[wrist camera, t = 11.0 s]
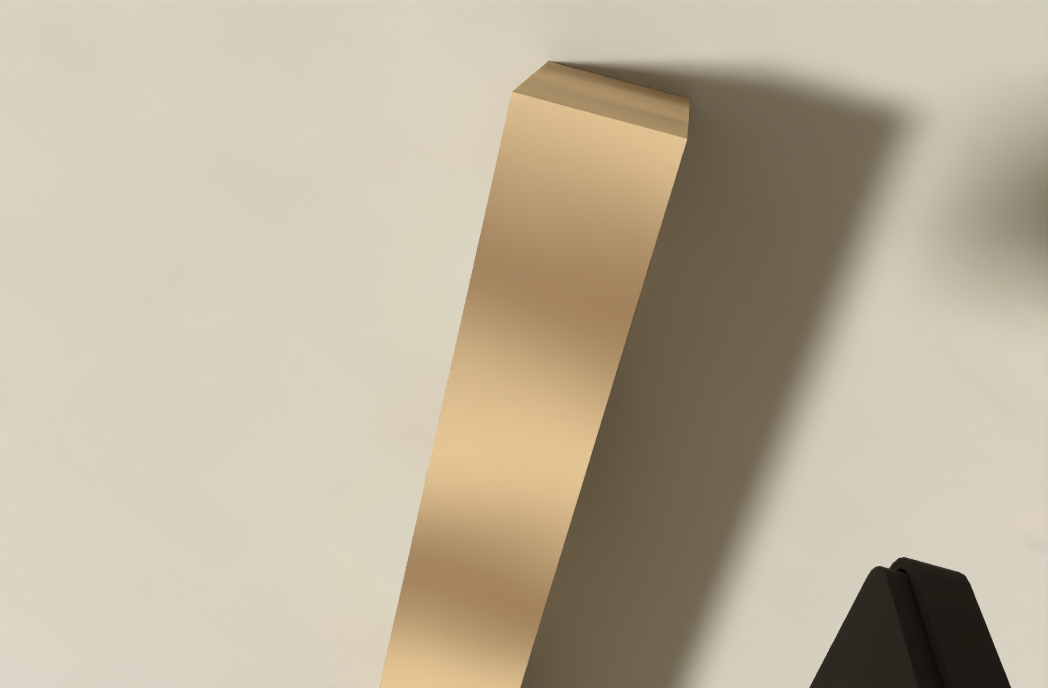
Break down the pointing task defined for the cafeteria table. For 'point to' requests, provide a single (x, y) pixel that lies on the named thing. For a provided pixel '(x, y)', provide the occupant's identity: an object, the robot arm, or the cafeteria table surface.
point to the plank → (532, 369)
